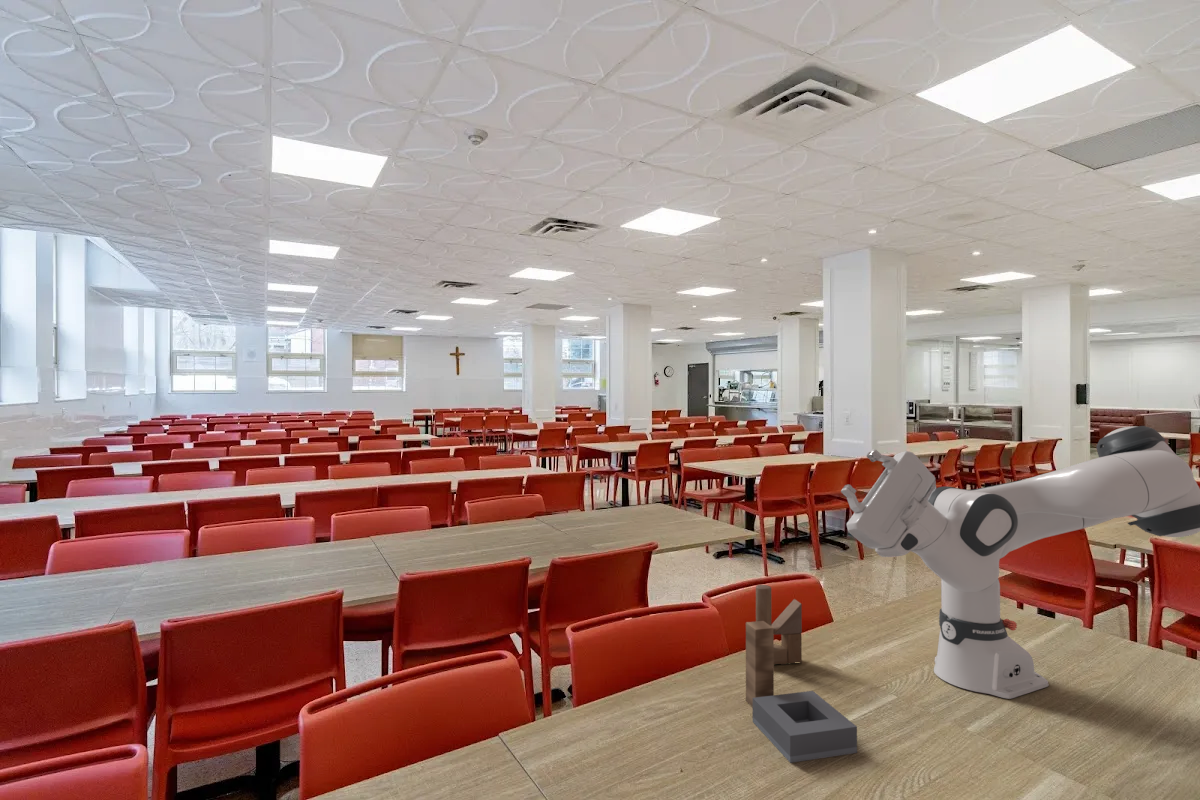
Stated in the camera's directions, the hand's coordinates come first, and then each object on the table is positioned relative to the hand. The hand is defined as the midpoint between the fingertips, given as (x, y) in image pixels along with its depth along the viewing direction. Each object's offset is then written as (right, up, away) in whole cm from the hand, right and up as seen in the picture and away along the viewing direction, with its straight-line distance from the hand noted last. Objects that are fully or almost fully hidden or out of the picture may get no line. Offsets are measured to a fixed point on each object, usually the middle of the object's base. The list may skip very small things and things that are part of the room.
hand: (857, 469), depth 106 cm
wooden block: (-6, -50, +28) cm, 57 cm away
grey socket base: (-11, -49, -3) cm, 50 cm away
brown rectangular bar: (-16, -49, +9) cm, 52 cm away
